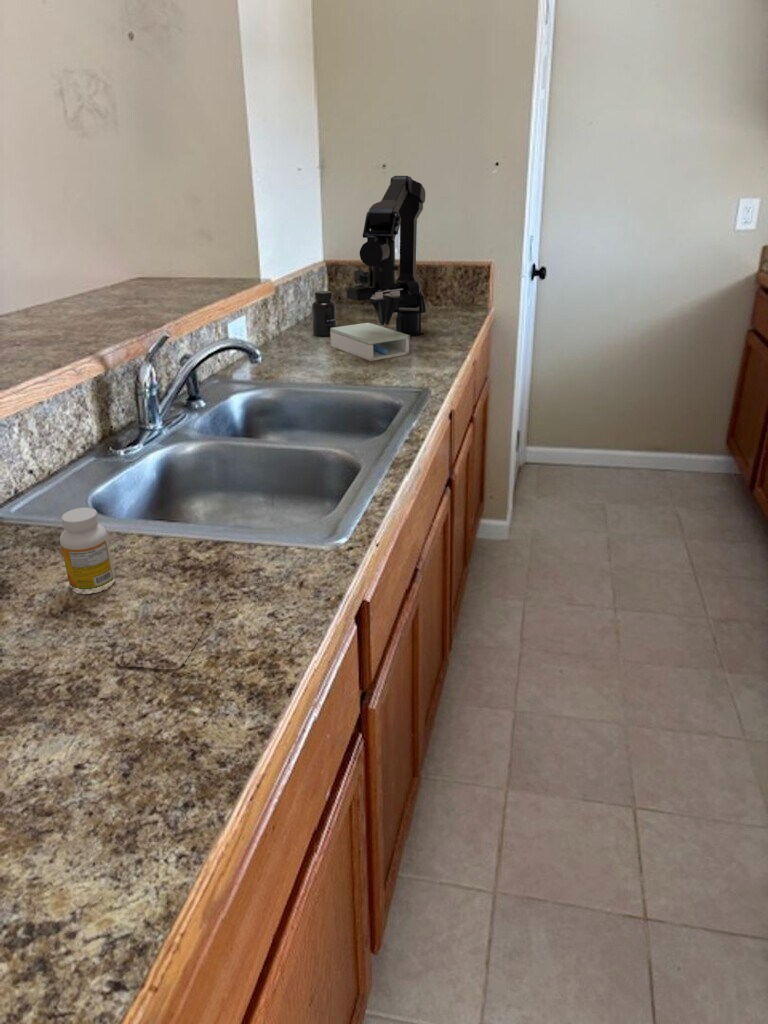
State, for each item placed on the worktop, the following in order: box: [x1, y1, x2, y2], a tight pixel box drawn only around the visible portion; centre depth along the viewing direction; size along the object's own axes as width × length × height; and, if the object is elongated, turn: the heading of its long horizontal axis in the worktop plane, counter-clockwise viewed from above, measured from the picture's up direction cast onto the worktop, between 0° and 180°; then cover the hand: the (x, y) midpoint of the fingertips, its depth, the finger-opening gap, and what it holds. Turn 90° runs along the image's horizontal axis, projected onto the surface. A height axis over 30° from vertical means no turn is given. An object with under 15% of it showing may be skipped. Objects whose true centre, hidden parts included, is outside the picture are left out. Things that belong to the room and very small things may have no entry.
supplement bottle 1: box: [59, 507, 116, 589], centre depth 93 cm, size 5×5×10 cm
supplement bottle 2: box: [311, 290, 337, 337], centre depth 219 cm, size 7×7×12 cm
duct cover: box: [331, 322, 411, 344], centre depth 202 cm, size 12×20×1 cm, turn 33°
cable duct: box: [329, 331, 410, 362], centre depth 203 cm, size 12×20×4 cm, turn 33°
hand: (384, 324), depth 196 cm, fingers closed
